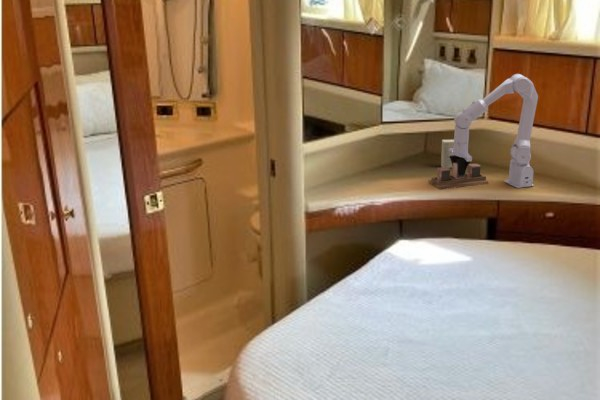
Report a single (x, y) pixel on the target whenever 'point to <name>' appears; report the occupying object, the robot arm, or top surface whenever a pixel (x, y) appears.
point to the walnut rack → (449, 181)
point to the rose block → (456, 171)
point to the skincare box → (446, 153)
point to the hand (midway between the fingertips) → (458, 174)
